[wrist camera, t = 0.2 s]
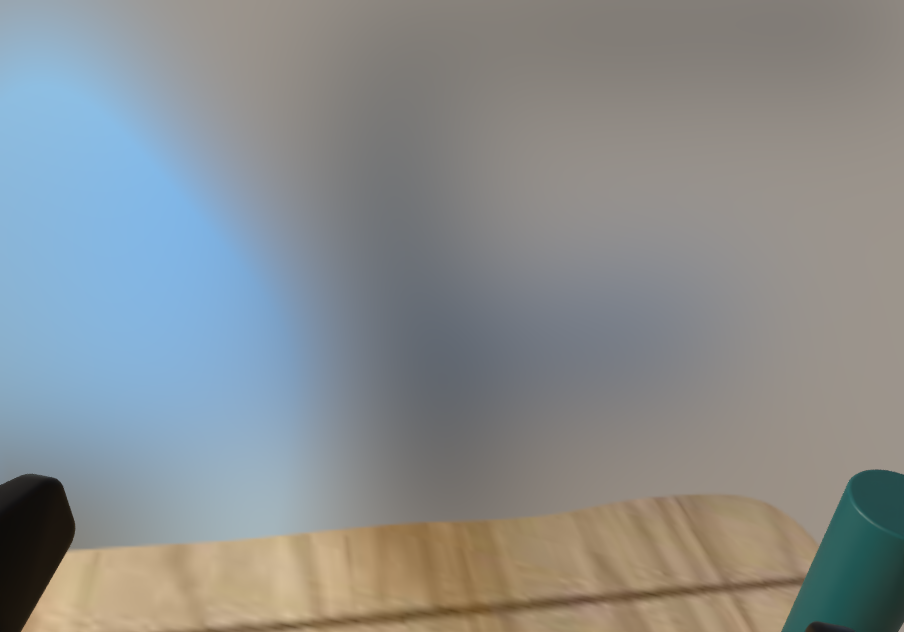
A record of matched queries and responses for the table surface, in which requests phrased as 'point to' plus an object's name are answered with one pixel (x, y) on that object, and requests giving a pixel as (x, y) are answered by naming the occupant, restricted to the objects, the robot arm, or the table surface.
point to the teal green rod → (858, 560)
